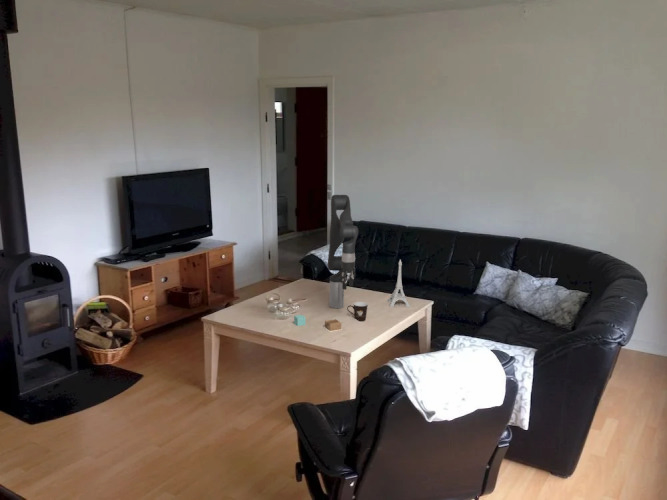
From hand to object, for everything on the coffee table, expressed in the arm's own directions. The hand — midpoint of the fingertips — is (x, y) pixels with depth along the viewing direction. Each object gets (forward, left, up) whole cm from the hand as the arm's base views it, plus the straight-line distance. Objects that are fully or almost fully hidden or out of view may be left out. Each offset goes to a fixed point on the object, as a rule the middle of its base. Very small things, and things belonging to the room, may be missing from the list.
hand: (347, 287), depth 346 cm
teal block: (-13, -24, -24) cm, 37 cm away
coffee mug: (-9, +13, -24) cm, 29 cm away
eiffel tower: (-25, +53, -24) cm, 63 cm away
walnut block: (+2, -10, -23) cm, 25 cm away
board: (-1, -10, -24) cm, 26 cm away
